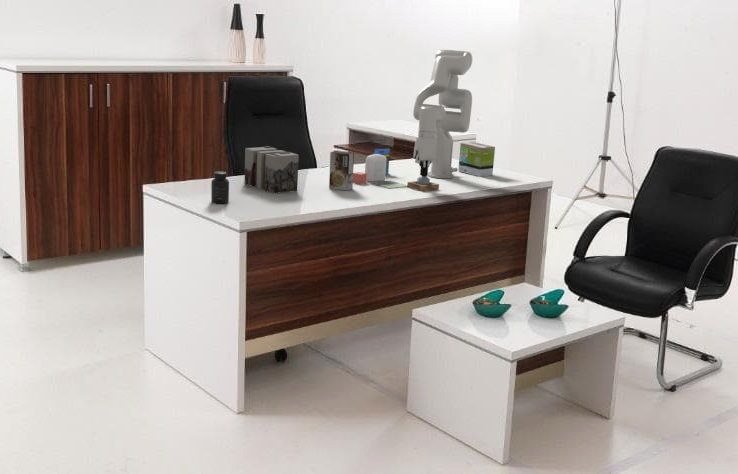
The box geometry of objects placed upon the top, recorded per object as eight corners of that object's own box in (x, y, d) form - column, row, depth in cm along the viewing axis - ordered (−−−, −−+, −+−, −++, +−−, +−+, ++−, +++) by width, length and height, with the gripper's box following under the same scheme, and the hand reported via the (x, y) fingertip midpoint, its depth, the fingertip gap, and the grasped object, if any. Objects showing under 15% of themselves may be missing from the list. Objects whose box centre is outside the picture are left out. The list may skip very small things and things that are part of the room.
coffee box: (353, 188, 398) (355, 152, 394) (347, 191, 392) (349, 154, 388) (333, 186, 401) (335, 149, 397) (328, 188, 395) (330, 151, 391)
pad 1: (389, 181, 420) (390, 180, 420) (399, 183, 415) (399, 182, 415) (369, 183, 412) (370, 182, 412) (379, 185, 407) (379, 185, 407)
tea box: (457, 171, 455) (459, 142, 452) (471, 170, 462) (473, 141, 458) (479, 177, 444) (482, 147, 441) (493, 175, 451) (495, 146, 447)
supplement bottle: (211, 200, 359) (212, 170, 356) (229, 201, 359) (229, 171, 356) (210, 204, 352) (210, 173, 349) (228, 204, 353) (228, 174, 350)
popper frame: (423, 185, 414) (423, 180, 414) (438, 189, 407) (439, 184, 406) (407, 187, 408) (407, 182, 407) (422, 191, 400) (422, 186, 400)
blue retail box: (384, 172, 442) (385, 147, 439) (388, 173, 439) (390, 148, 435) (368, 173, 437) (370, 147, 434) (372, 174, 434) (374, 149, 431)
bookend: (269, 181, 404) (270, 145, 400) (301, 191, 386) (303, 153, 382) (238, 183, 394) (239, 146, 390) (270, 194, 376) (272, 156, 372)
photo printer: (381, 179, 423) (383, 153, 420) (386, 181, 420) (388, 154, 417) (362, 180, 418) (364, 154, 415) (368, 182, 414) (369, 155, 411)
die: (358, 181, 415) (358, 171, 414) (366, 183, 412) (366, 173, 411) (352, 182, 411) (352, 172, 410) (360, 184, 409) (360, 174, 408)
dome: (423, 185, 411) (424, 173, 410) (431, 187, 407) (432, 176, 405) (414, 186, 407) (415, 174, 406) (422, 188, 403) (423, 177, 402)
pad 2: (399, 184, 414) (400, 183, 414) (409, 186, 410) (409, 185, 410) (379, 186, 407) (379, 185, 407) (389, 188, 402) (389, 187, 402)
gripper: (433, 132, 409) (430, 173, 413) (408, 134, 399) (405, 175, 404) (444, 135, 403) (441, 176, 408) (420, 136, 394) (417, 178, 398)
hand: (423, 175), depth 406 cm, fingers closed
